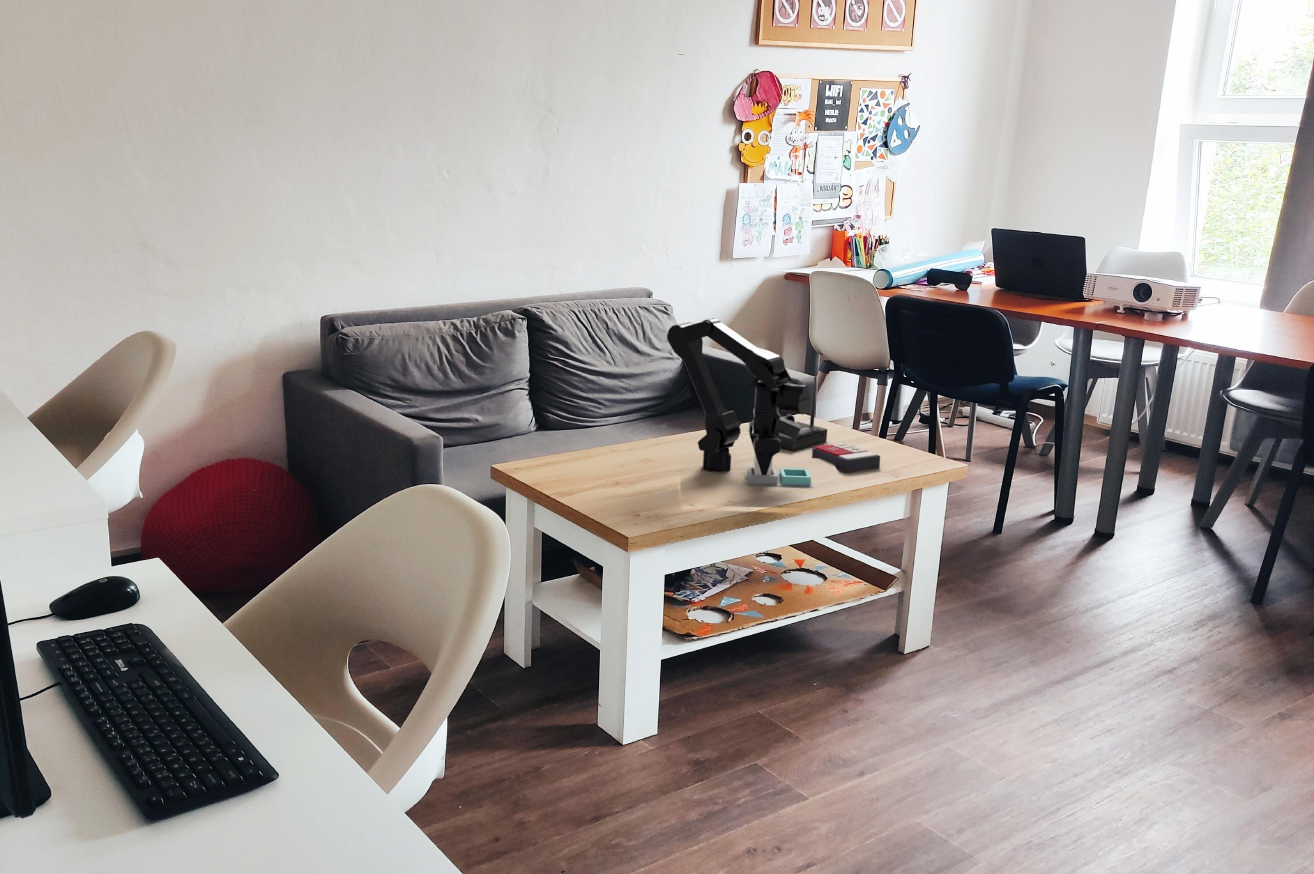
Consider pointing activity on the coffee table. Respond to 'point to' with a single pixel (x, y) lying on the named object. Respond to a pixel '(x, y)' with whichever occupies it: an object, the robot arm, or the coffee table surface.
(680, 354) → the robot arm
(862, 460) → the calculator
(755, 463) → the plug
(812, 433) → the black antenna base
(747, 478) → the compartment tray
